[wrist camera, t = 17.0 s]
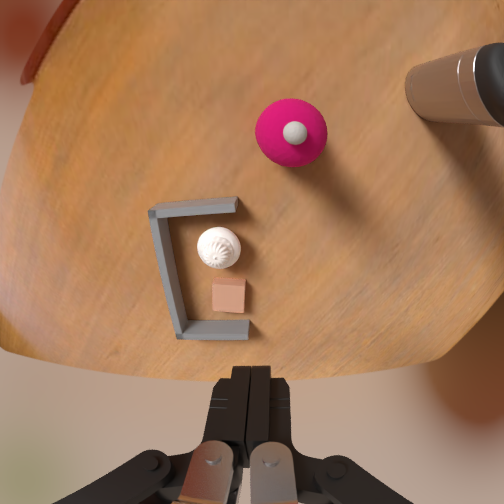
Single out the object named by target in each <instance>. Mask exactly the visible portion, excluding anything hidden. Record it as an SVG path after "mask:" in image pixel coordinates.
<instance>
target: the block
mask: <svg viewBox="0 0 504 504" xmlns="http://www.w3.org/2000/svg"><path fill="white" fill-rule="evenodd" d="M245 287H246V279H233V278H220V277H214V280H213V283H212V298H213V311H223V312H236V313H244V307H245Z"/></svg>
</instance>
